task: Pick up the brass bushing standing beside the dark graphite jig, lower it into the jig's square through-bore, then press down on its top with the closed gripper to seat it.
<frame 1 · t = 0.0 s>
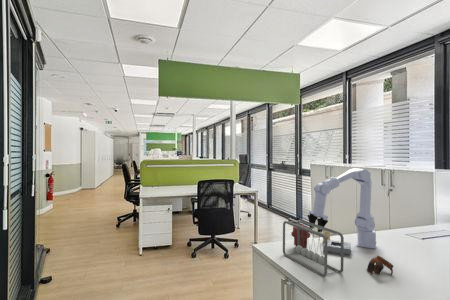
hand: (315, 230, 151), 11 cm above the cabinet, tool pointing down, fingers open, 7 cm apart
jig: (337, 250, 150), on the cabinet
mechanical component: (300, 248, 154), on the cabinet
brown sunglasses: (379, 274, 122), on the cabinet
newton's cradle: (310, 264, 132), on the cabinet
bushing: (326, 242, 163), on the cabinet
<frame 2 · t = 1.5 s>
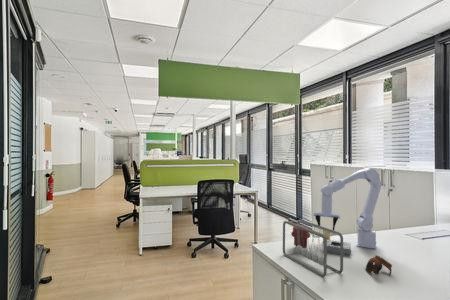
hand: (326, 229, 163), 8 cm above the cabinet, tool pointing down, fingers open, 7 cm apart
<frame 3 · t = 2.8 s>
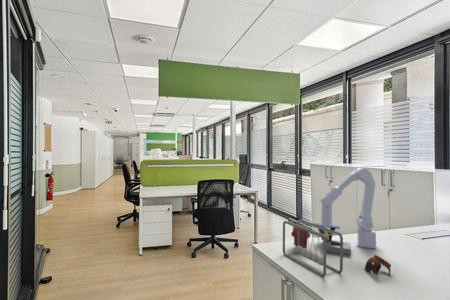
hand: (326, 239, 163), 2 cm above the cabinet, tool pointing down, fingers closed on bushing, 4 cm apart
bushing: (326, 242, 163), on the cabinet, touching gripper
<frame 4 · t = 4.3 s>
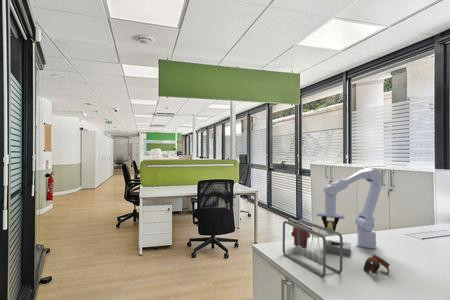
hand: (330, 230, 158), 9 cm above the cabinet, tool pointing down, fingers closed on bushing, 4 cm apart
bushing: (330, 233, 158), point 7 cm above the cabinet, touching gripper
when the fingers open (4 cm above the cabinet, at t = 6.0 s): bushing drops 3 cm, resting in jig.
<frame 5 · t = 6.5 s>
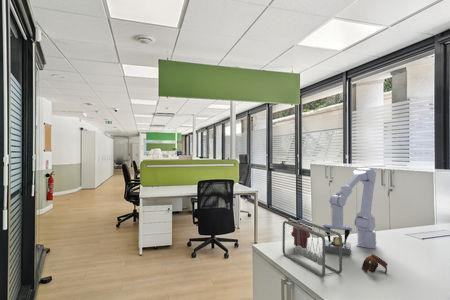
hand: (337, 242, 150), 4 cm above the cabinet, tool pointing down, fingers open, 7 cm apart
bushing: (337, 250, 150), resting in jig
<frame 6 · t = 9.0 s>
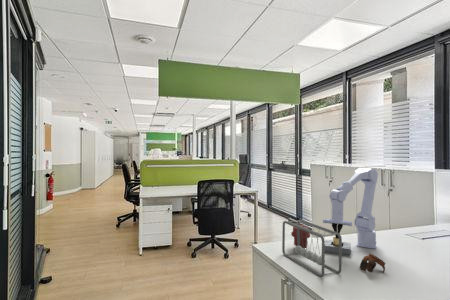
hand: (337, 237, 150), 7 cm above the cabinet, tool pointing down, fingers closed, pressing on bushing
bushing: (337, 250, 150), resting in jig, touching gripper
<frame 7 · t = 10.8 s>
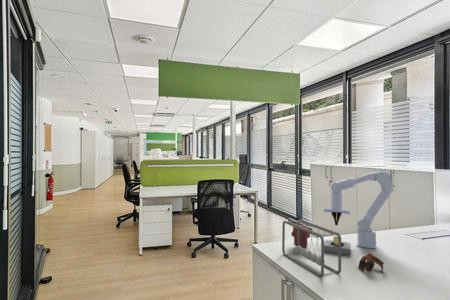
hand: (336, 224, 167), 9 cm above the cabinet, tool pointing down, fingers closed
bushing: (337, 250, 150), resting in jig
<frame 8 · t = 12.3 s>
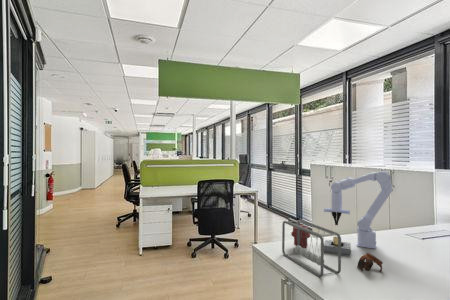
hand: (336, 224, 167), 9 cm above the cabinet, tool pointing down, fingers closed
at the end: bushing 0.1 cm off-centre on the jig, point 0.0 cm above the jig's base; bushing tilted 1°; the gripper is holding nothing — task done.
